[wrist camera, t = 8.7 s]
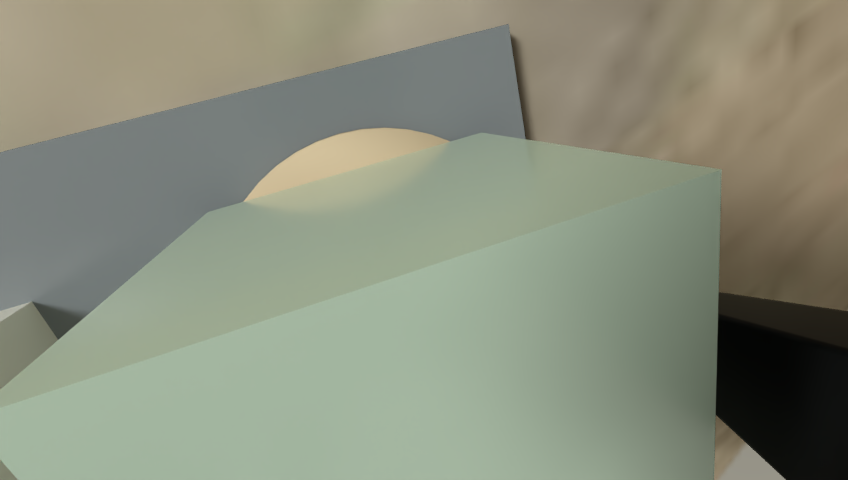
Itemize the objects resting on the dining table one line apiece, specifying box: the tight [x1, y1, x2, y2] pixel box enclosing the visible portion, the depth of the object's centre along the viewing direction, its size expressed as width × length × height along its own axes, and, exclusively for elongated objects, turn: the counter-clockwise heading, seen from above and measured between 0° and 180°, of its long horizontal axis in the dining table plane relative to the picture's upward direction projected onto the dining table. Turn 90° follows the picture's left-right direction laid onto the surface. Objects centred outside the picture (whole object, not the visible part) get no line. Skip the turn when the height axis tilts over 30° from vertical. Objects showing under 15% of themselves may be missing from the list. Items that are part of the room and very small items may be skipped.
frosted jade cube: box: [0, 133, 722, 480], centre depth 8 cm, size 7×7×7 cm
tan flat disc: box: [243, 127, 450, 202], centre depth 12 cm, size 9×9×1 cm
